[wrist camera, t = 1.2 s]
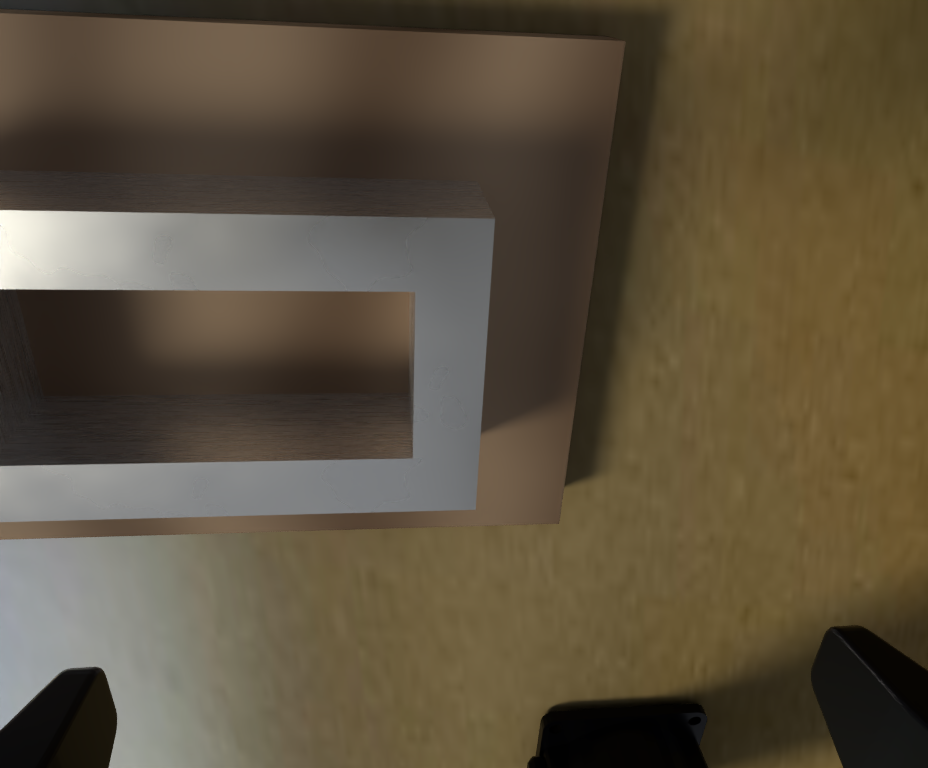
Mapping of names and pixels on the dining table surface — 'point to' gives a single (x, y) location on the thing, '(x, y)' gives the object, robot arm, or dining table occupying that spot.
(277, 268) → the grey rectangular frame
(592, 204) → the keeper board
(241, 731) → the dining table surface
